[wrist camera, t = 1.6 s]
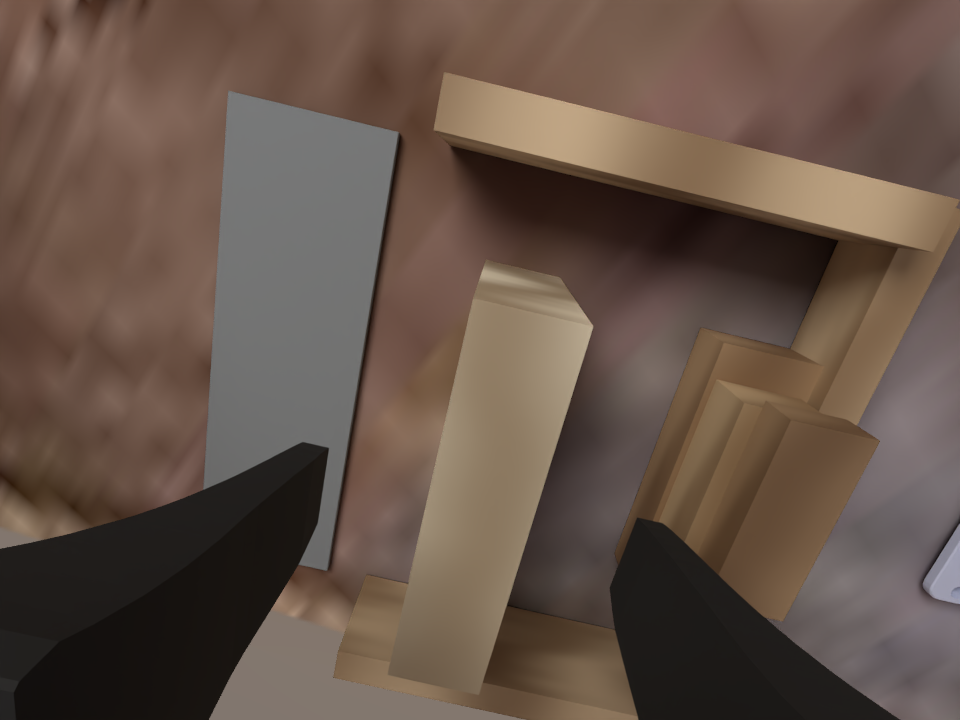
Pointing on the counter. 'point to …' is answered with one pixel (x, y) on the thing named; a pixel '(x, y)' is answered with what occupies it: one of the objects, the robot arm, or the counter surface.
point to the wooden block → (489, 472)
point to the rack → (821, 337)
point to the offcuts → (751, 468)
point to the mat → (294, 289)
